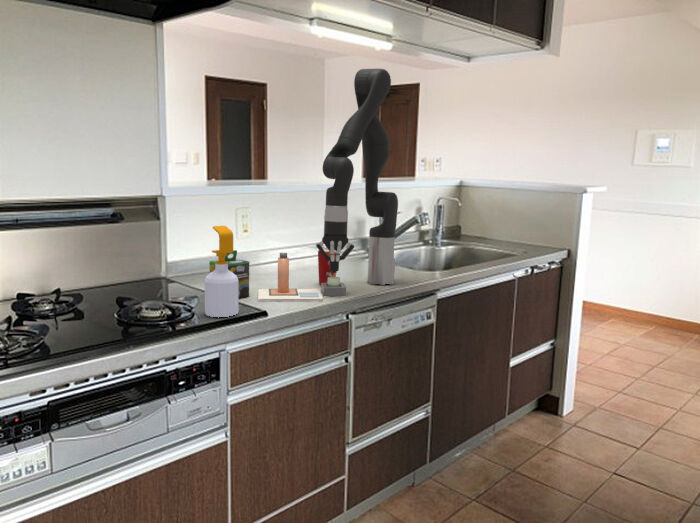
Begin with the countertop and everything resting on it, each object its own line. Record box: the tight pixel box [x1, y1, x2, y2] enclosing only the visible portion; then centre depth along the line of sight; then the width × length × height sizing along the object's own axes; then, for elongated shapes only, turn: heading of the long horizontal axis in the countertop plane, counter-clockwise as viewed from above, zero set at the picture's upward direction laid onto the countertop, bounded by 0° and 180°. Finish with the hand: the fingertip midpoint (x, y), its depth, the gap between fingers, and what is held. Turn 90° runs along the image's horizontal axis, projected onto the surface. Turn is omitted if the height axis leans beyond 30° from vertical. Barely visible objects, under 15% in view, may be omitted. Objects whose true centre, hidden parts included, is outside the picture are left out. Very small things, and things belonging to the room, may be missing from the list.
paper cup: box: [316, 244, 337, 285], centre depth 201 cm, size 8×8×14 cm
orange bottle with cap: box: [277, 252, 290, 293], centre depth 184 cm, size 4×4×13 cm
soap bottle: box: [204, 225, 239, 319], centre depth 157 cm, size 9×9×25 cm
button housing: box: [320, 282, 347, 297], centre depth 189 cm, size 7×7×3 cm
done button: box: [328, 276, 341, 287], centre depth 188 cm, size 4×4×4 cm
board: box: [257, 288, 324, 302], centre depth 184 cm, size 20×14×1 cm
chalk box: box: [209, 249, 250, 299], centre depth 180 cm, size 9×9×15 cm
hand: (334, 272), depth 187 cm, fingers closed
